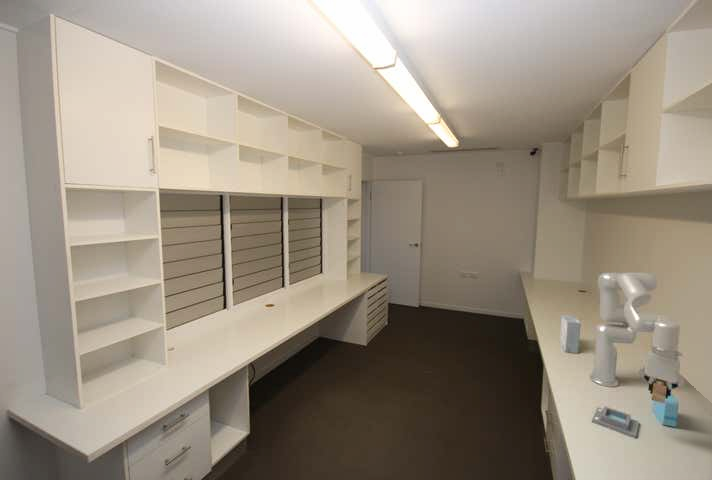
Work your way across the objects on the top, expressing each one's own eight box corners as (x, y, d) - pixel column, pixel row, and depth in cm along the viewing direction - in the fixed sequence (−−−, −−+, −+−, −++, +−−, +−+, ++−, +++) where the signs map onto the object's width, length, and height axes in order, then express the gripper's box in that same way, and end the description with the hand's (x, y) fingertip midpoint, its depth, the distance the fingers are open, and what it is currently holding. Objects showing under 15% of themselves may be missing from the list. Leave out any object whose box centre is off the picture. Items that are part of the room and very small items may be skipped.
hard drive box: (578, 354, 217) (581, 323, 215) (564, 352, 220) (567, 322, 217) (572, 344, 232) (574, 315, 230) (559, 342, 234) (561, 314, 232)
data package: (676, 428, 147) (679, 402, 145) (662, 426, 148) (665, 399, 147) (664, 412, 157) (667, 388, 156) (651, 410, 159) (654, 386, 158)
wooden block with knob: (652, 395, 142) (654, 376, 141) (665, 399, 140) (667, 380, 139) (651, 399, 140) (653, 380, 139) (664, 404, 137) (667, 383, 136)
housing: (597, 409, 160) (598, 402, 160) (639, 423, 150) (639, 416, 149) (591, 422, 151) (592, 414, 150) (635, 438, 140) (636, 430, 140)
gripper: (693, 355, 134) (687, 399, 136) (638, 342, 146) (633, 383, 148) (693, 362, 129) (687, 407, 131) (636, 348, 140) (631, 390, 142)
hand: (659, 394), depth 139 cm, fingers closed on wooden block with knob, 4 cm apart
